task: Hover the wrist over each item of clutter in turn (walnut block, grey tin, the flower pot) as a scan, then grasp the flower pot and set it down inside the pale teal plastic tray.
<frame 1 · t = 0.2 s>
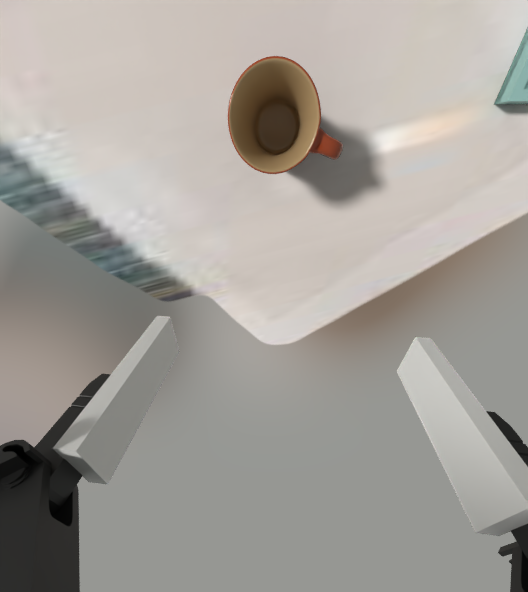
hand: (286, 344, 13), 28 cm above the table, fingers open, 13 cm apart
mug: (288, 134, 30), on the table
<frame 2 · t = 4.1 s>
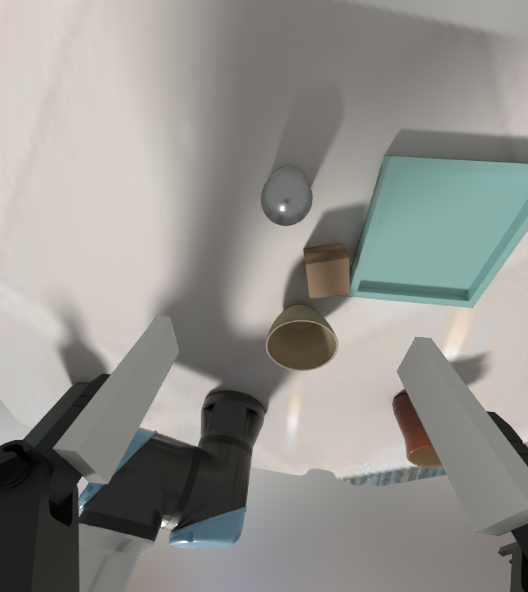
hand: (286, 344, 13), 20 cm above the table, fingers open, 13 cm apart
mug: (414, 395, 46), on the table
tray: (429, 238, 28), on the table
bottle: (94, 392, 58), on the table
walnut block: (323, 262, 32), on the table
flower pot: (299, 315, 37), on the table
grey tin: (287, 190, 27), on the table
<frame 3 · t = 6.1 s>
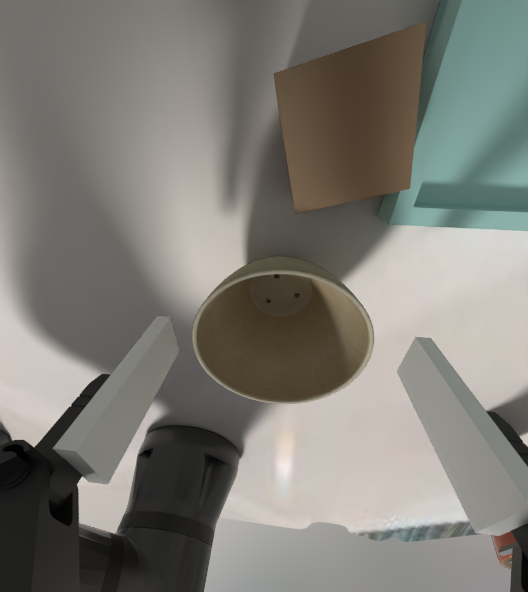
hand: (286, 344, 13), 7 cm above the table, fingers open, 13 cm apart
mug: (485, 428, 27), on the table
walnut block: (327, 142, 13), on the table
flower pot: (281, 286, 19), on the table
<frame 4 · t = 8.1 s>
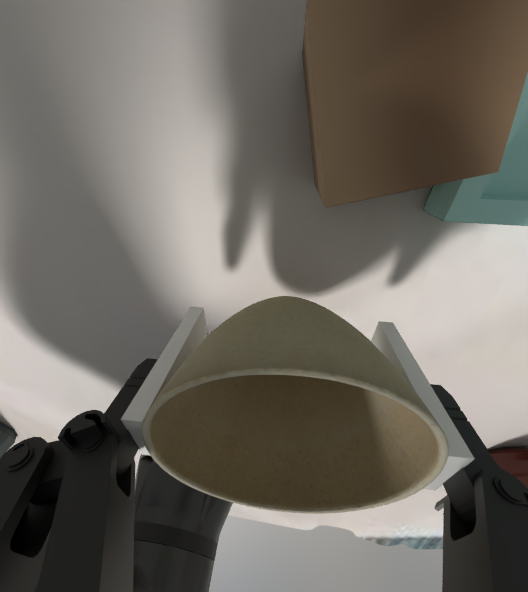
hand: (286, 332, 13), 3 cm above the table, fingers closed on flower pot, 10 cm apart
mug: (521, 451, 24), on the table
walnut block: (366, 111, 10), on the table
flower pot: (286, 327, 14), point 3 cm above the table, touching gripper
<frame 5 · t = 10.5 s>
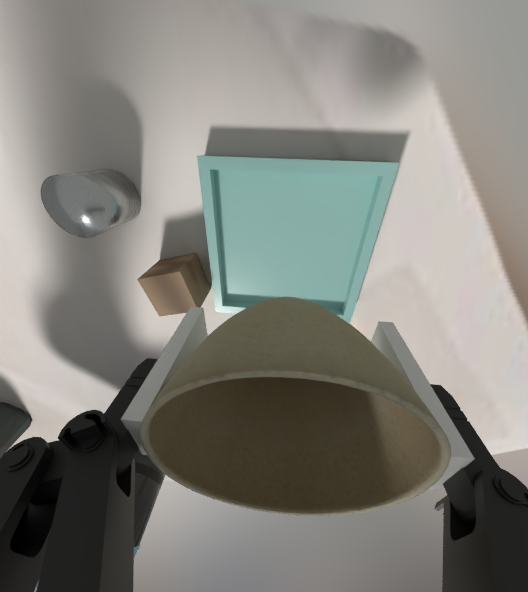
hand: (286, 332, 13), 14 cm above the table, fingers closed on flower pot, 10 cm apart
tray: (287, 246, 25), on the table
bottle: (11, 412, 55), on the table
walnut block: (186, 274, 29), on the table
flower pot: (286, 327, 14), point 14 cm above the table, touching gripper
grey tin: (117, 196, 24), on the table
when the fingers open (3 cm above the table, at t = 13.0 s): flower pot drops 2 cm, resting on tray.
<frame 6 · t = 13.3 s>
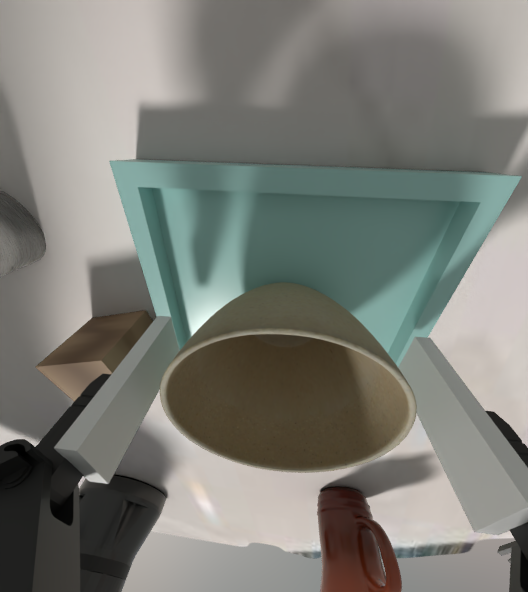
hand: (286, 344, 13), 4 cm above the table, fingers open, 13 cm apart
mug: (346, 489, 33), on the table
tray: (287, 305, 16), on the table
walnut block: (135, 336, 19), on the table
flower pot: (285, 312, 15), point 1 cm above the table, touching tray
grey tin: (4, 226, 14), on the table
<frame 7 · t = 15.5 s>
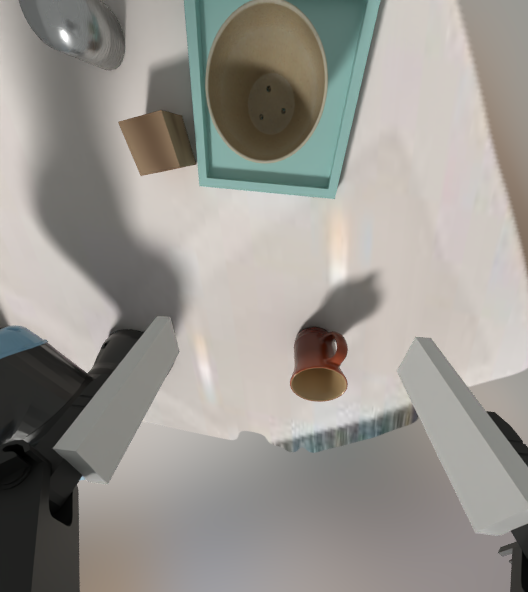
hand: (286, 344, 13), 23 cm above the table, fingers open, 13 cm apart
mug: (317, 332, 43), on the table
tray: (273, 106, 25), on the table
walnut block: (171, 145, 28), on the table
flower pot: (272, 106, 24), point 1 cm above the table, touching tray
grey tin: (100, 36, 23), on the table
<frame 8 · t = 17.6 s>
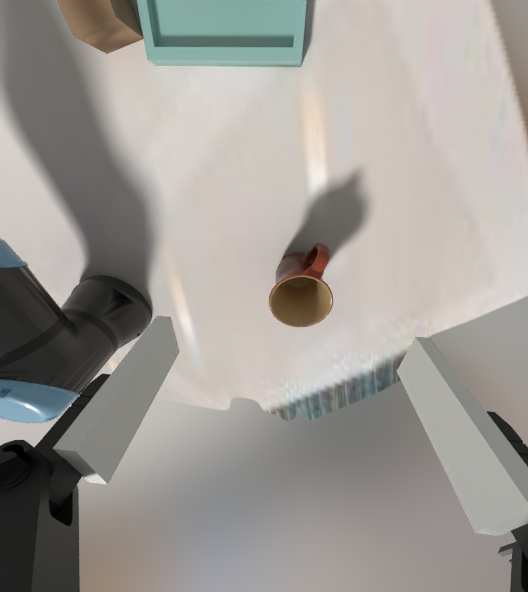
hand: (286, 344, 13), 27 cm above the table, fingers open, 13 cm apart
mug: (301, 261, 39), on the table
walnut block: (113, 14, 25), on the table
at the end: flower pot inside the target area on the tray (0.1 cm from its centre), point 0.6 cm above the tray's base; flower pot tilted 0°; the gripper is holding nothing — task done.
